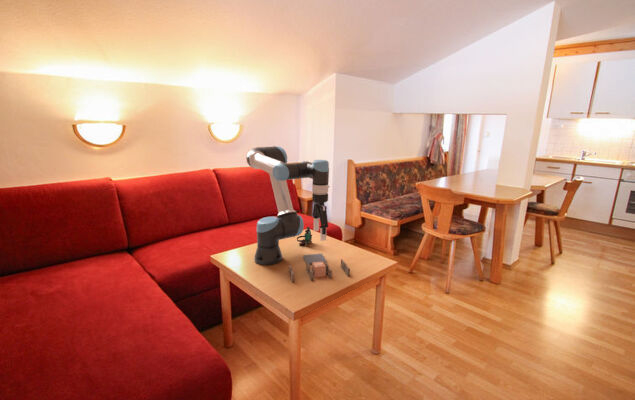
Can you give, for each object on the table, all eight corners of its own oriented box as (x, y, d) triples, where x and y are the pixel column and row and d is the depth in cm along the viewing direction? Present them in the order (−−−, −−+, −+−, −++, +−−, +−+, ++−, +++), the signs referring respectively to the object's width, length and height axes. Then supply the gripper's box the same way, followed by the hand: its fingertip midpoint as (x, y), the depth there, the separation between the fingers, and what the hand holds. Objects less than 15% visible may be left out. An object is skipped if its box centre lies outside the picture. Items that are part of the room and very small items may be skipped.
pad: (303, 256, 181) (303, 255, 181) (321, 255, 184) (321, 253, 184) (307, 265, 171) (307, 263, 171) (326, 263, 173) (327, 261, 173)
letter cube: (312, 272, 163) (312, 262, 161) (322, 271, 164) (322, 261, 163) (314, 277, 158) (314, 266, 156) (325, 276, 159) (325, 265, 158)
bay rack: (288, 271, 163) (288, 264, 162) (342, 266, 170) (342, 259, 169) (292, 282, 152) (292, 275, 151) (349, 276, 159) (350, 269, 158)
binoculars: (297, 226, 203) (312, 226, 200) (299, 242, 205) (314, 242, 203) (293, 231, 194) (309, 230, 192) (295, 247, 196) (311, 247, 194)
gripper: (335, 198, 140) (334, 244, 145) (321, 187, 163) (320, 226, 169) (319, 199, 138) (318, 245, 143) (306, 187, 162) (306, 227, 167)
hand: (319, 235), depth 156 cm, fingers open, 13 cm apart
